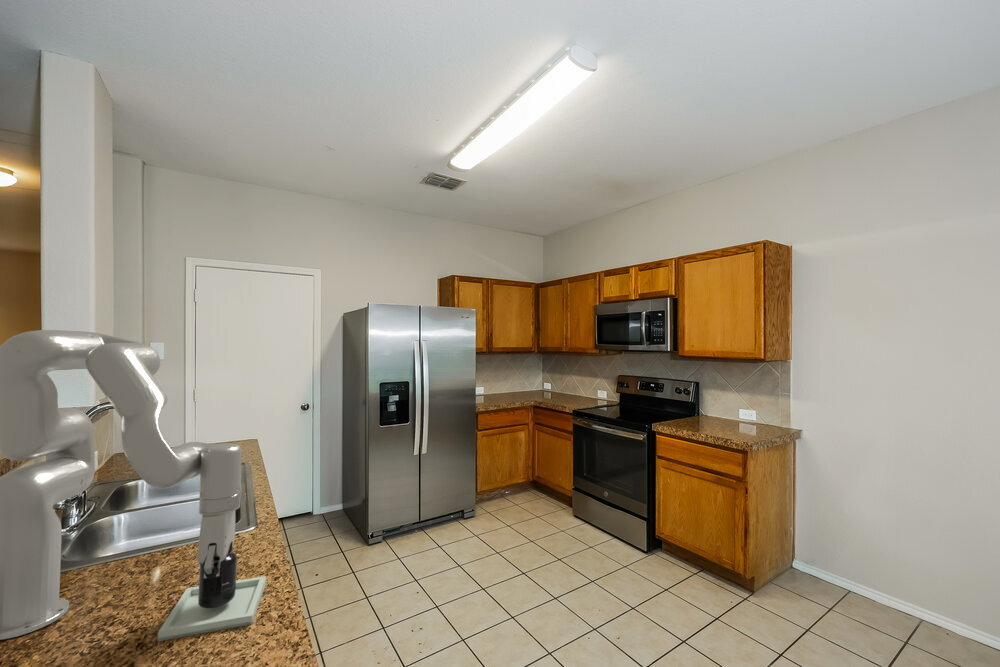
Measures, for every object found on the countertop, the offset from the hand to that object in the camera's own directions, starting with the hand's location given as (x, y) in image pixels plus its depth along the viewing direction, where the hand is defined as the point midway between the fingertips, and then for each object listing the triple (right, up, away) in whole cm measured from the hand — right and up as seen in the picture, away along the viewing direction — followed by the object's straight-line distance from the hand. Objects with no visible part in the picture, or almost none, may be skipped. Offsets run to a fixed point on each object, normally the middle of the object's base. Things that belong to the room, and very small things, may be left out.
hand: (217, 585), depth 93 cm
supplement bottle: (0, -3, 0) cm, 3 cm away
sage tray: (0, -5, 0) cm, 5 cm away
